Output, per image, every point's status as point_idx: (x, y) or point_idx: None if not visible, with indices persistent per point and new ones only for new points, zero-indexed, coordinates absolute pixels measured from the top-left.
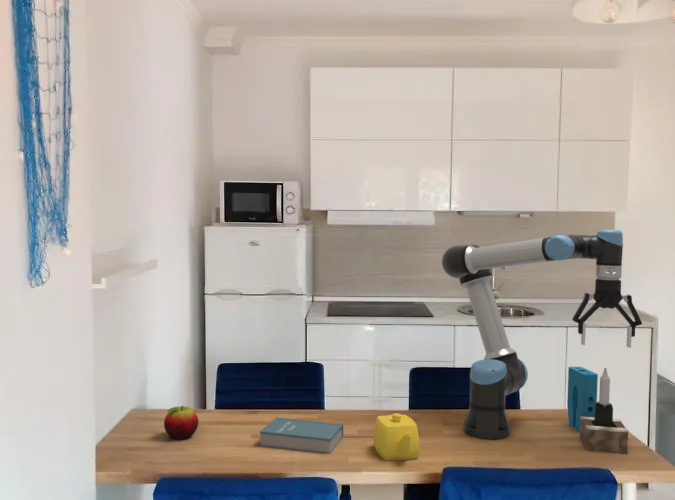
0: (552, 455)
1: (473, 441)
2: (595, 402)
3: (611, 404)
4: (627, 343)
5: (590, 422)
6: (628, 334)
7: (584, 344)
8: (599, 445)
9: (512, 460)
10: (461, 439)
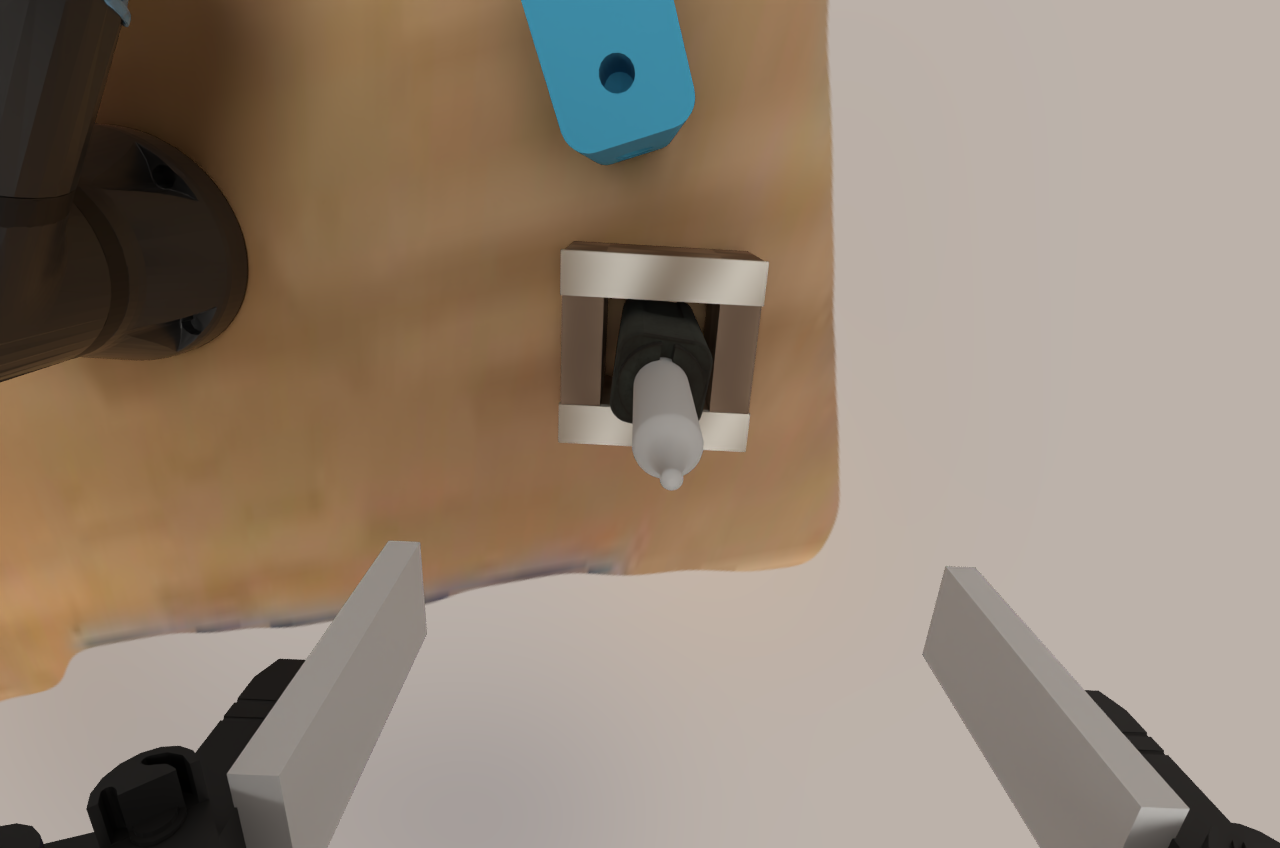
0: (432, 488)
1: (110, 390)
2: (667, 142)
3: (701, 394)
4: (952, 638)
5: (595, 349)
6: (1014, 770)
7: (418, 640)
8: None
9: (289, 561)
10: (54, 374)
